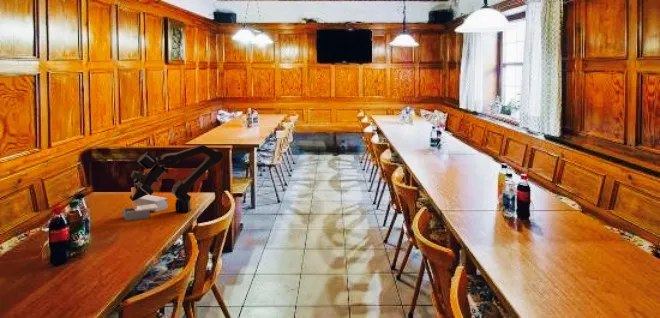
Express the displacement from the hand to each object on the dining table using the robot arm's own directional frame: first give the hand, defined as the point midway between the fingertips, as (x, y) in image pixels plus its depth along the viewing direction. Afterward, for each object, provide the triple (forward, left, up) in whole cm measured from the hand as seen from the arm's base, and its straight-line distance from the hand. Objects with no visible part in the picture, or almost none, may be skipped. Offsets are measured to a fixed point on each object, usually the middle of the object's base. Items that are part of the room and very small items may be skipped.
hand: (131, 199), depth 241 cm
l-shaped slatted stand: (-5, -4, -5) cm, 8 cm away
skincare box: (+5, -22, -6) cm, 23 cm away
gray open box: (-2, -1, -9) cm, 9 cm away
